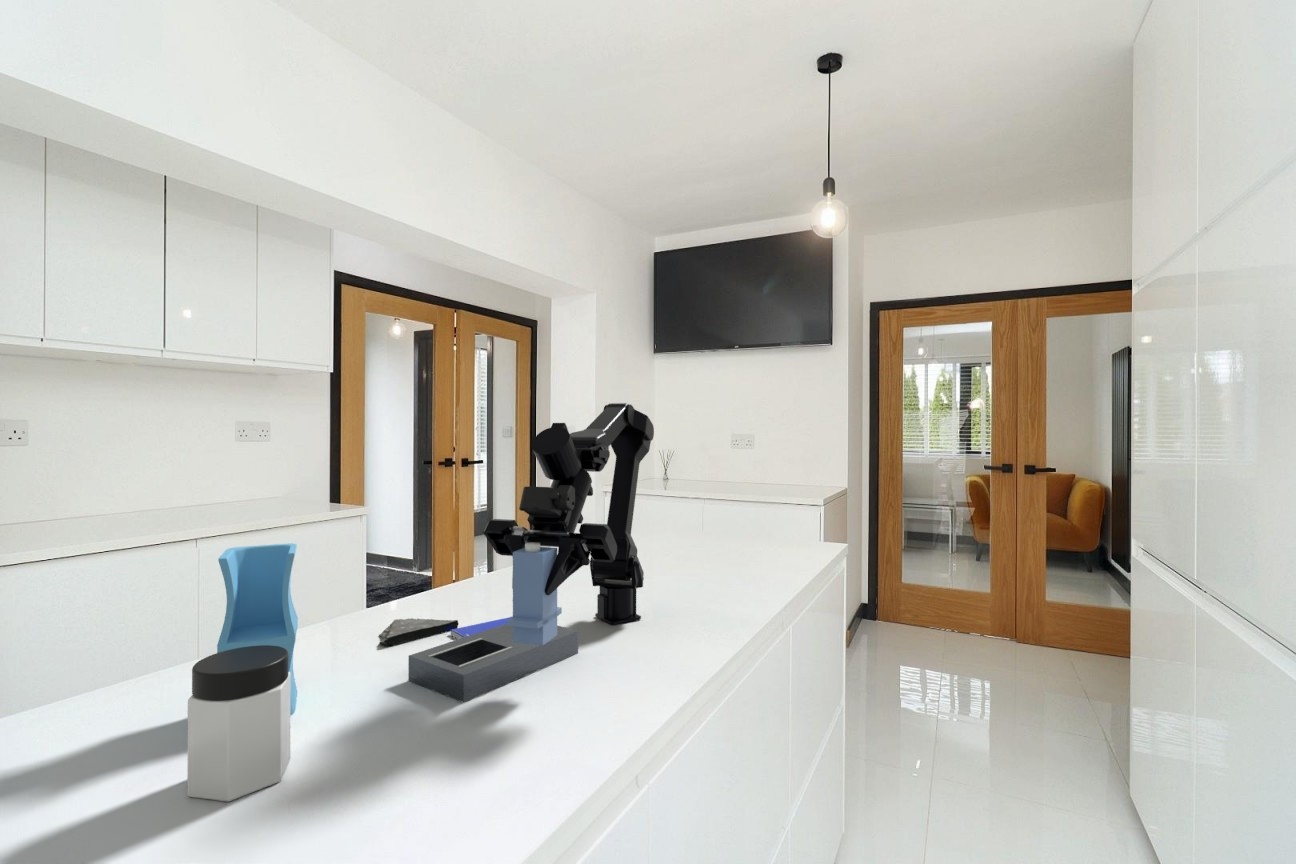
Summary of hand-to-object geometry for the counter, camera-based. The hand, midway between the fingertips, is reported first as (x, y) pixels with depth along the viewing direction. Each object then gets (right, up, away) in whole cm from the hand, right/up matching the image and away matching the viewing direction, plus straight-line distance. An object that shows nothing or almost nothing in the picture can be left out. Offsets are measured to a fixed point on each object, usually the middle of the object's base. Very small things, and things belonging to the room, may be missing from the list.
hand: (530, 592), depth 82 cm
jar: (-25, -14, -20) cm, 35 cm away
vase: (-33, -14, -5) cm, 36 cm away
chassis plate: (-7, -13, +10) cm, 18 cm away
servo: (0, -7, +1) cm, 7 cm away
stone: (-25, -14, +25) cm, 39 cm away
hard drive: (-11, -14, +25) cm, 31 cm away
